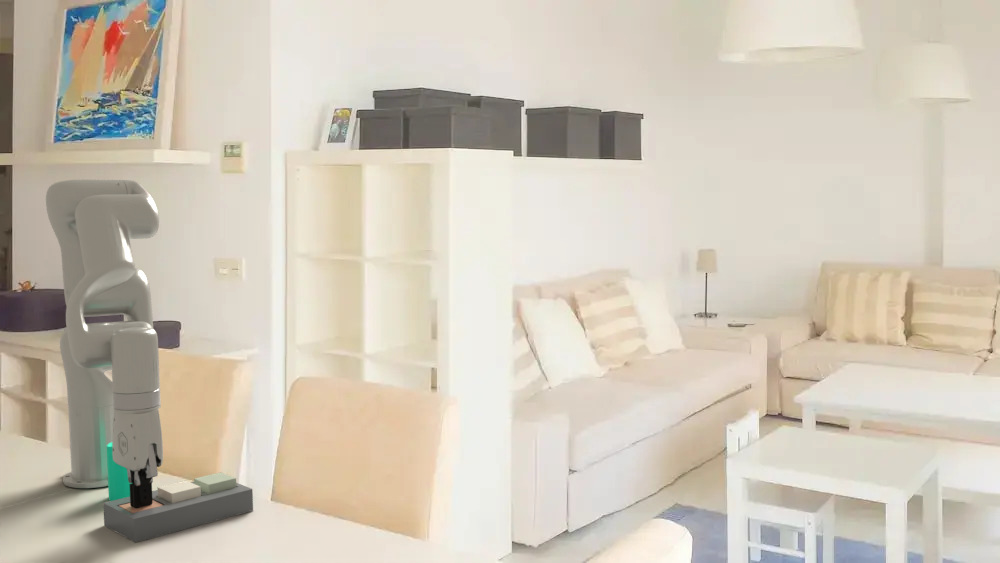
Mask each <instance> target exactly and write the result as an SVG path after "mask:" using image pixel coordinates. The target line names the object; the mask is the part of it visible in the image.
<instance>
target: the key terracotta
mask: <svg viewBox="0 0 1000 563" xmlns="http://www.w3.org/2000/svg"><path fill="white" fill-rule="evenodd" d="M152 501H153V503H152V505H149V506H145V507H141V508H134V507H132V506H131V505H130V503H128V504H124V505H120V506H119V507H121V508H123V509H125V510H127V511H129V512H131V513H135V512H139V511H143V510H147V509H151V508H155V507H159V506H163V505H162V504H160V503H158V502H156V501H154V500H152Z"/></svg>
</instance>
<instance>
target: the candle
mask: <svg viewBox="0 0 1000 563" xmlns="http://www.w3.org/2000/svg"><path fill="white" fill-rule="evenodd" d="M106 448H107V470H108V486H107V492H108V500H109V501H113V500H117V499H122V498H126V497H130V484H132V483H129V481H128V473H127V469H126V468H125V467H123V466H120V465H118V464H117V463H115V462H114V460H113V446H112V442H111V443H109V444H108V445H107V446H106Z"/></svg>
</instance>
